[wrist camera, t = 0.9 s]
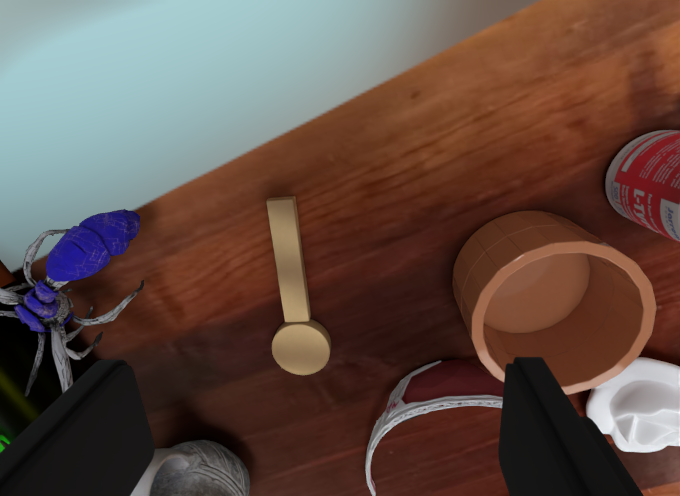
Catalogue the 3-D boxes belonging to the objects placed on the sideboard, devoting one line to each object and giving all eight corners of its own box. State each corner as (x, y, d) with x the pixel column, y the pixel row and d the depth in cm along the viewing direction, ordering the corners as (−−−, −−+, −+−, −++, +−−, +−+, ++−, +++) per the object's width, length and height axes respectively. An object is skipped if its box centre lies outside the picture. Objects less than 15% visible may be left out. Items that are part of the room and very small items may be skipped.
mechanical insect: (4, 224, 36) (-257, 330, 23) (52, 103, 29) (-282, 157, 16) (172, 364, 38) (23, 532, 25) (253, 284, 31) (105, 458, 18)
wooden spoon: (251, 199, 31) (246, 202, 30) (314, 194, 30) (311, 198, 29) (279, 367, 36) (276, 375, 35) (333, 365, 35) (332, 374, 34)
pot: (451, 215, 30) (473, 247, 23) (603, 204, 29) (670, 235, 22) (452, 339, 33) (470, 397, 27) (587, 334, 32) (641, 393, 26)
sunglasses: (597, 362, 33) (629, 416, 28) (533, 484, 41) (551, 540, 37) (379, 338, 34) (379, 387, 29) (361, 462, 42) (359, 514, 38)
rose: (748, 359, 27) (771, 465, 30) (698, 325, 31) (722, 420, 34) (592, 405, 29) (626, 500, 32) (565, 367, 33) (597, 454, 36)
